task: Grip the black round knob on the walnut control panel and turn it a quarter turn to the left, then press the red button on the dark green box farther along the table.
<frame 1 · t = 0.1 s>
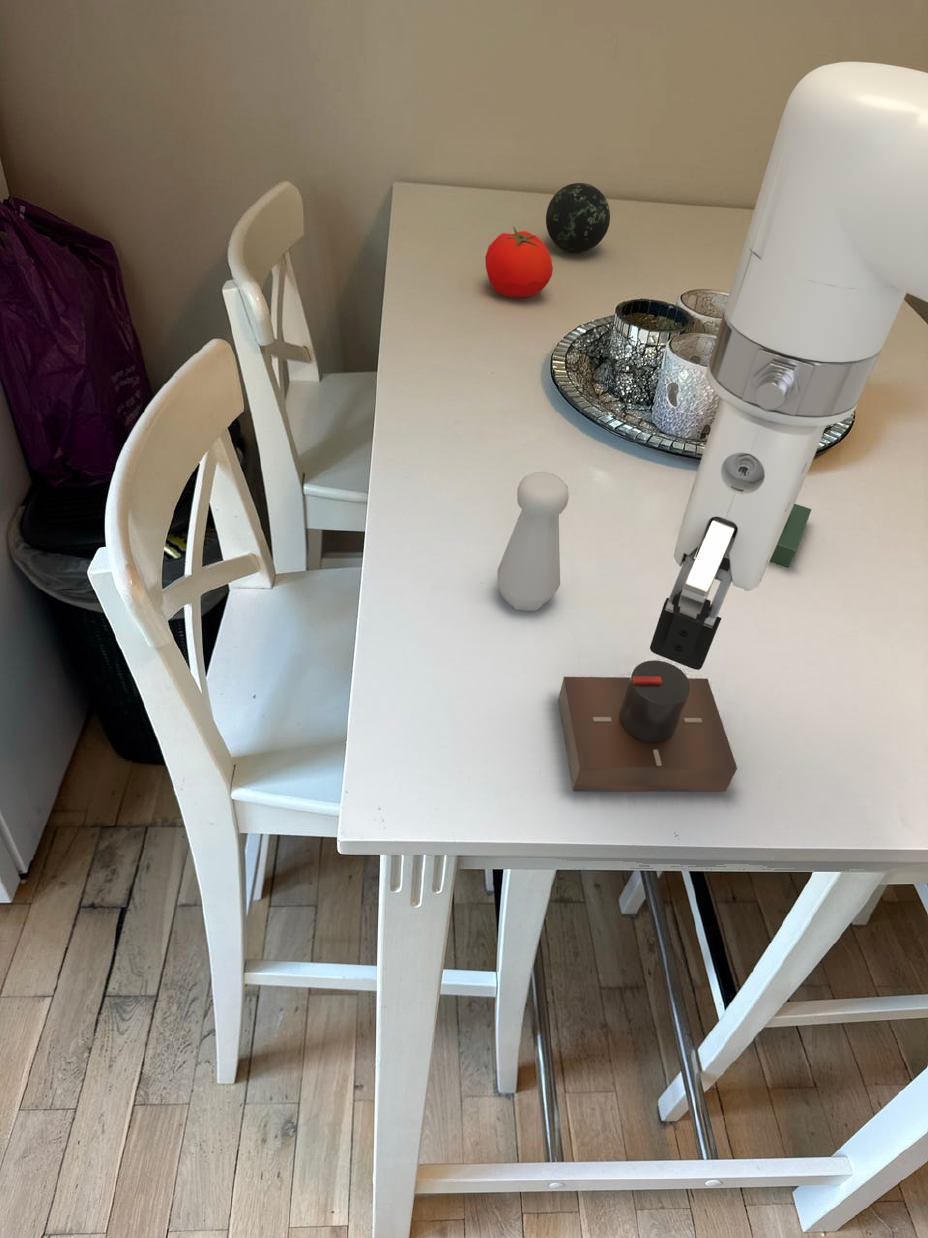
hand: (698, 609, 55), 18 cm above the table, tool pointing down, fingers open, 9 cm apart
button: (762, 494, 89), point 4 cm above the table, slide at 0.1 cm
salt shaker: (524, 598, 82), on the table
panel: (638, 744, 70), on the table
button box: (749, 529, 92), on the table
tomato: (515, 293, 129), on the table
knob: (654, 700, 67), point 5 cm above the table, hinge at 0.0°
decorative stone: (572, 251, 142), on the table
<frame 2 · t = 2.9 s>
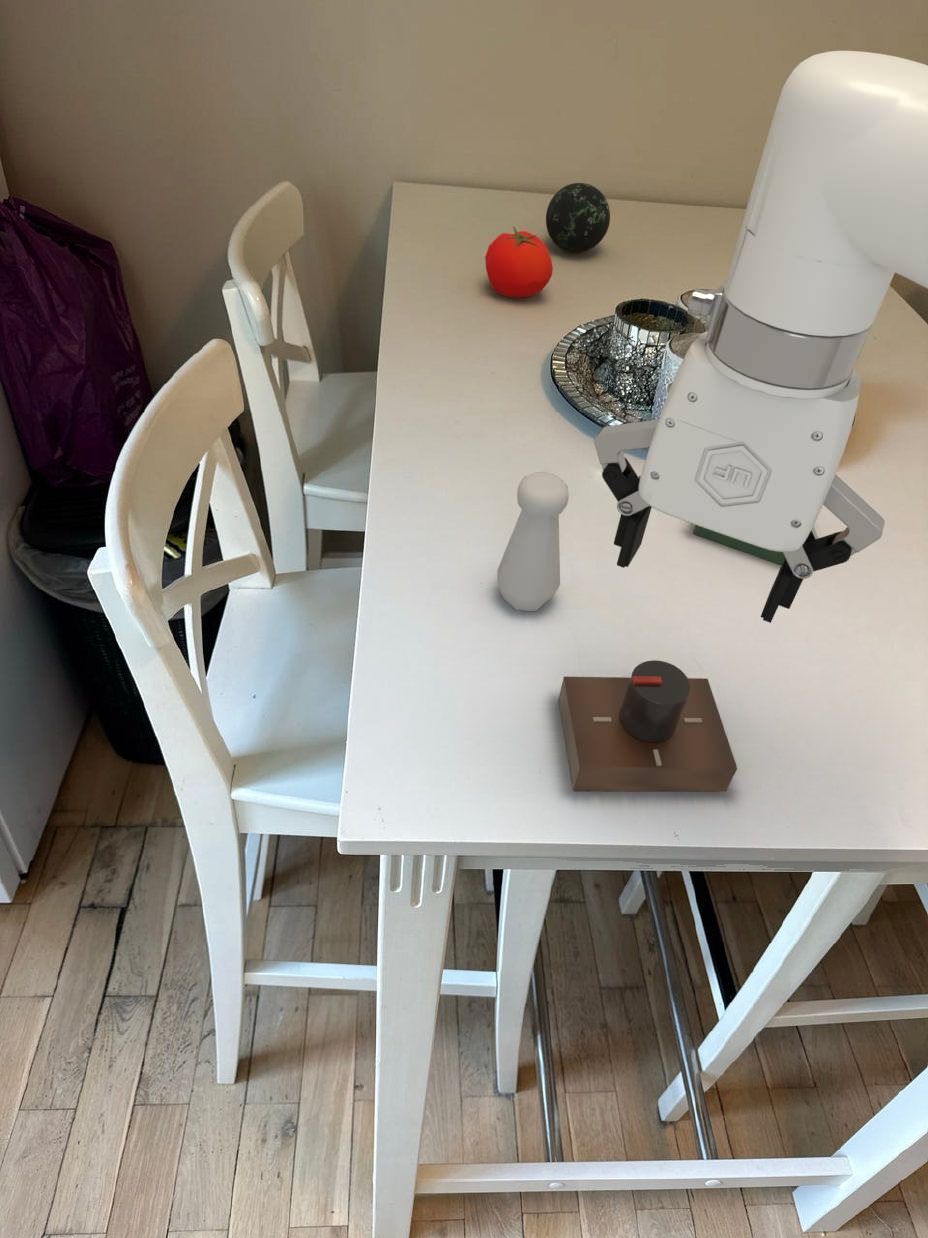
hand: (697, 581, 58), 18 cm above the table, tool pointing down, fingers open, 9 cm apart
nothing on the table moved.
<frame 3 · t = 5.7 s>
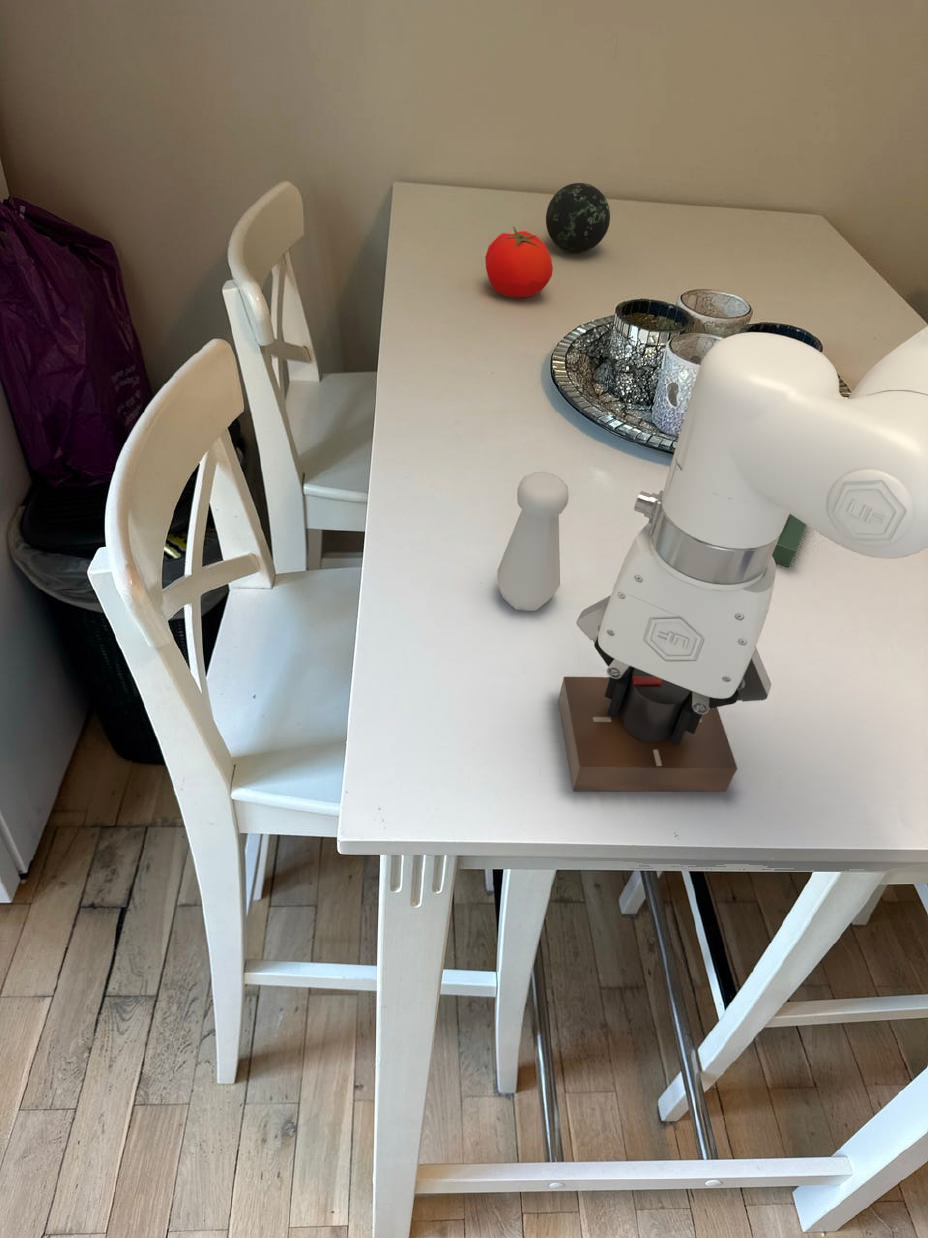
hand: (648, 716, 68), 4 cm above the table, tool pointing down, fingers closed on knob, 4 cm apart
knob: (654, 700, 67), point 5 cm above the table, hinge at 0.0°, touching gripper
everything else where it was.
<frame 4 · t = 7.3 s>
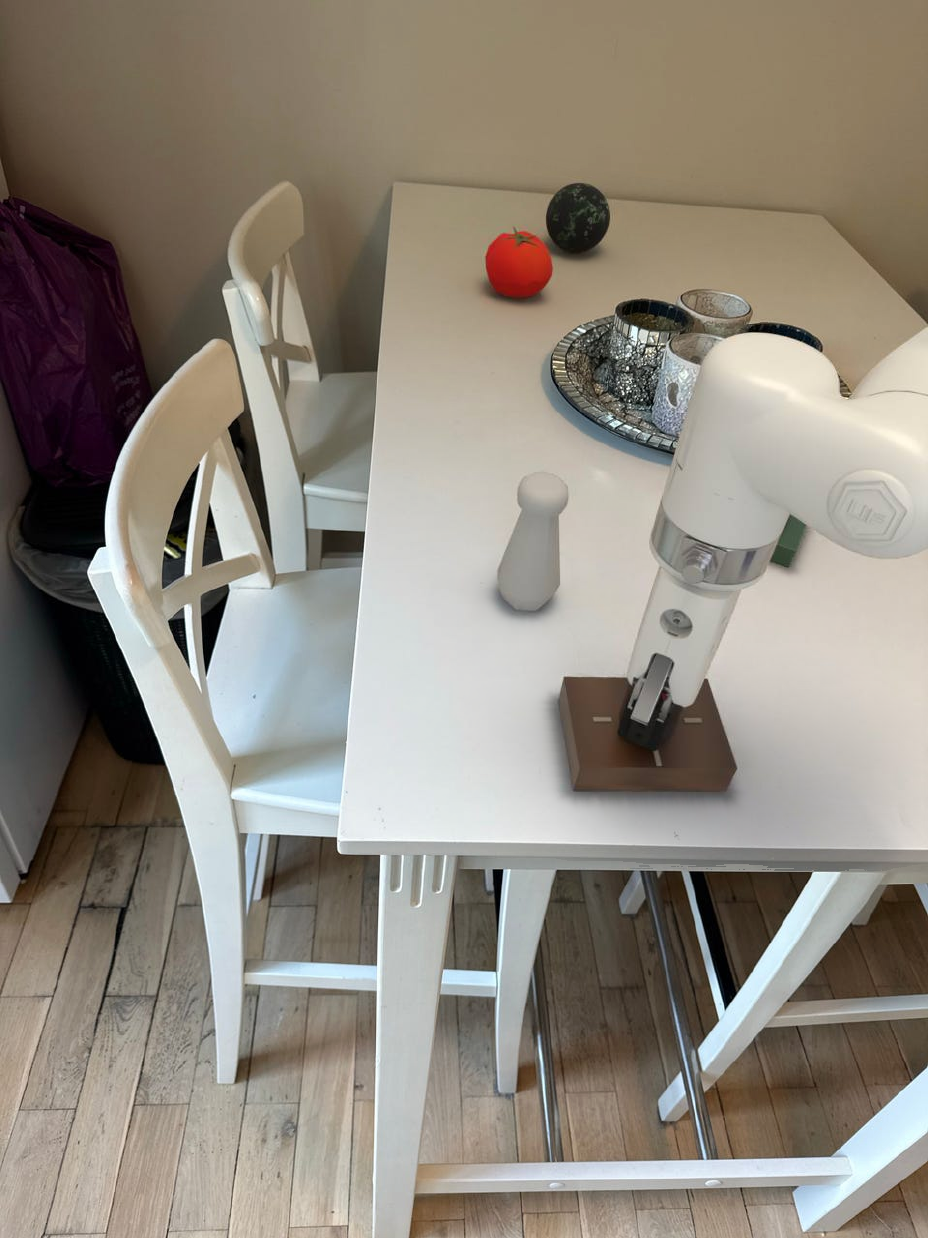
hand: (648, 716, 68), 4 cm above the table, tool pointing down, fingers closed on knob, 4 cm apart
knob: (654, 700, 67), point 5 cm above the table, hinge at 90.4°, touching gripper
everything else where it was.
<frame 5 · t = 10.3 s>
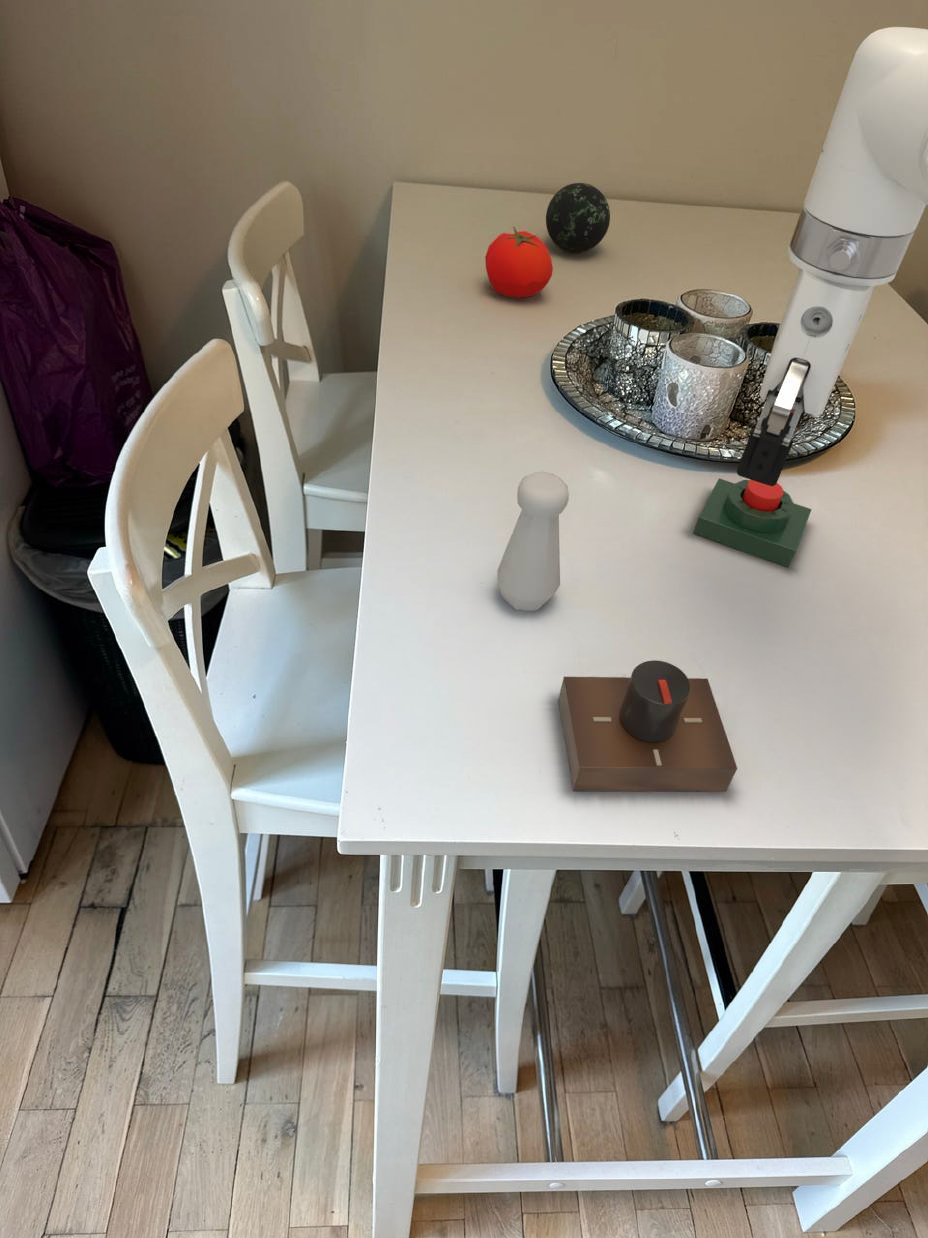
hand: (768, 449, 73), 16 cm above the table, tool pointing down, fingers open, 9 cm apart
knob: (654, 700, 67), point 5 cm above the table, hinge at 90.1°
everything else where it was.
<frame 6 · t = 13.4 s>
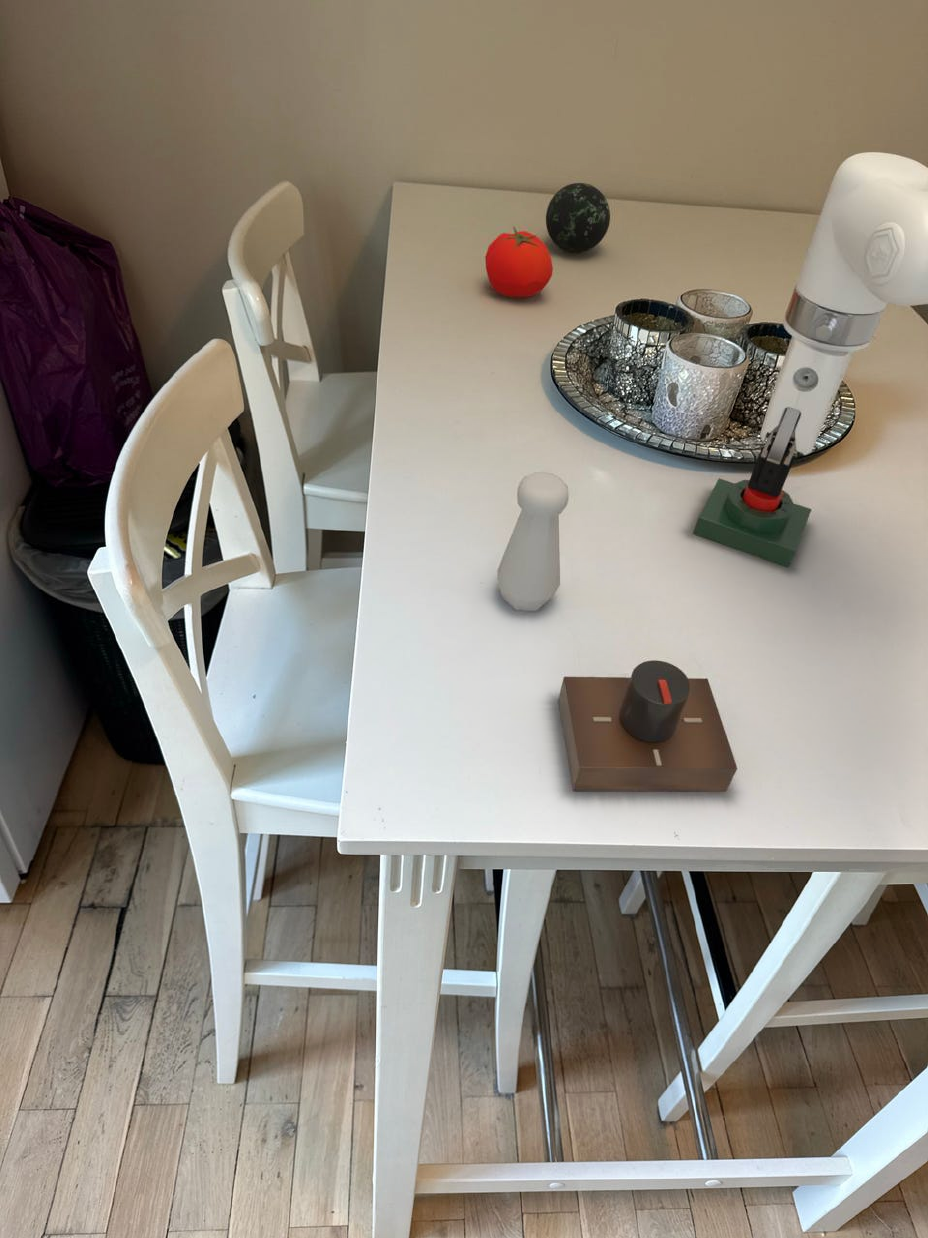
hand: (764, 488, 88), 5 cm above the table, tool pointing down, fingers closed
button: (762, 496, 89), point 4 cm above the table, slide at -0.1 cm, touching gripper
everything else where it was.
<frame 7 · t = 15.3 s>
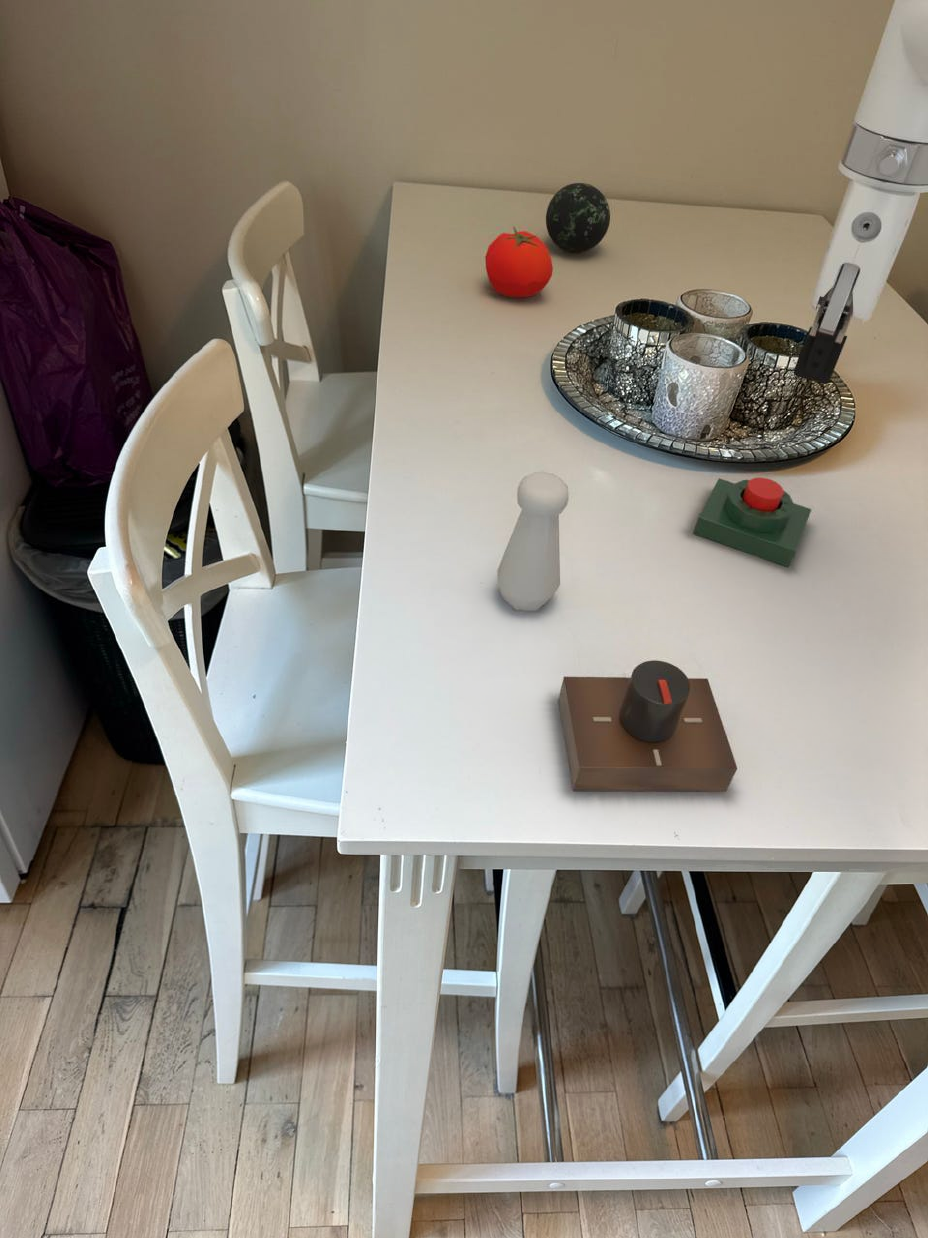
hand: (811, 375, 79), 18 cm above the table, tool pointing down, fingers closed
button: (762, 494, 89), point 4 cm above the table, slide at 0.1 cm
everything else where it was.
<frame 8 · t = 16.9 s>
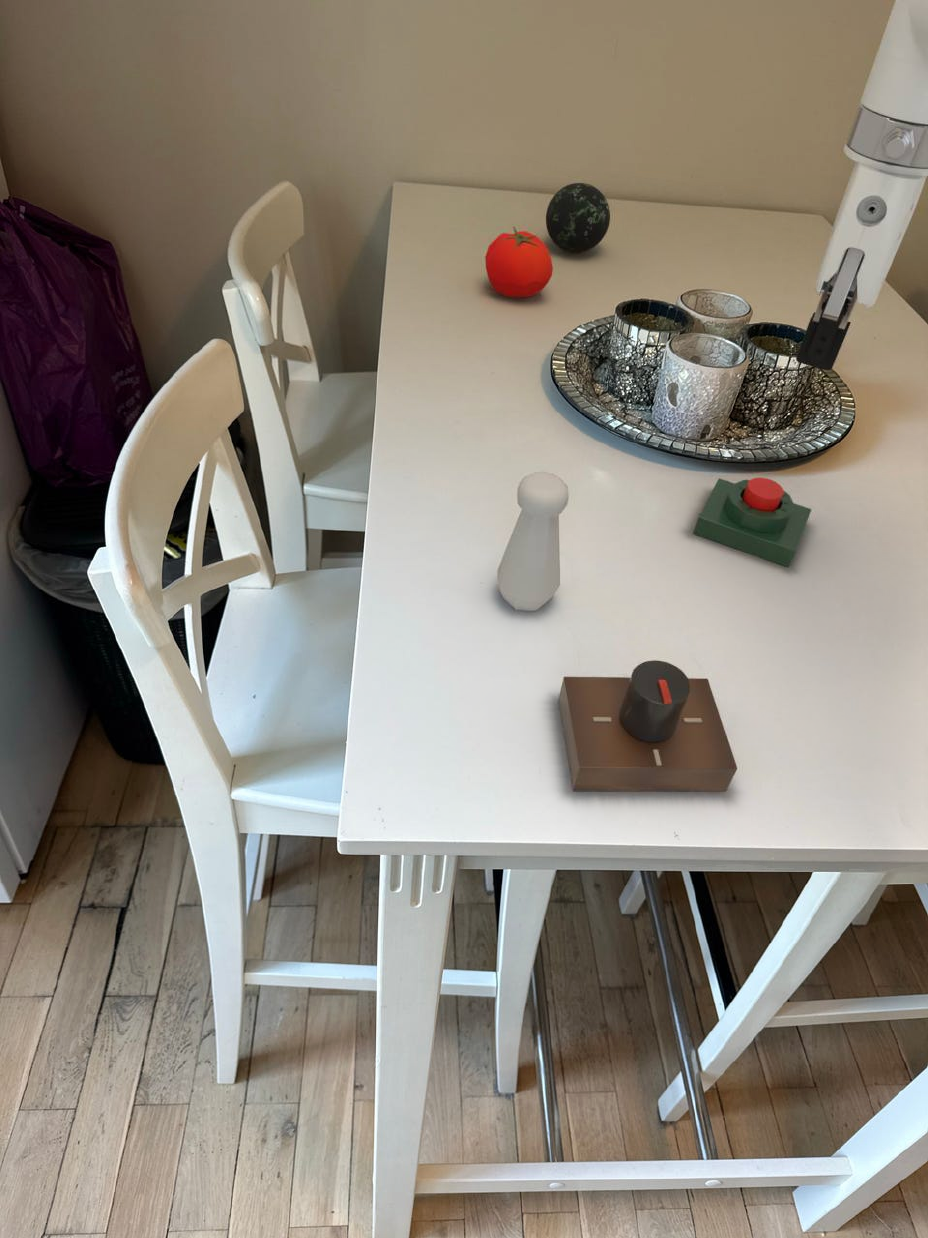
hand: (814, 362, 79), 19 cm above the table, tool pointing down, fingers closed
nothing on the table moved.
at the end: knob at +90° (first picture: +0°); button pushed in 1.1 cm at the most during the clip, back to where it started at the end; button slide at 0.1 cm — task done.
